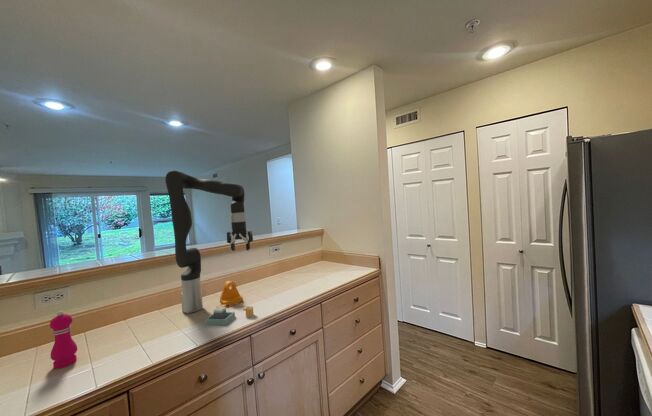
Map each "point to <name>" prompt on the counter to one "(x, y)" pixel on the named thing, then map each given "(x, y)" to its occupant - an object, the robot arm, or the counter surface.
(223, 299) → the bracket
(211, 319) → the tray
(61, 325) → the pepper mill
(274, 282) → the counter surface
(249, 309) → the clip right
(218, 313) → the block
